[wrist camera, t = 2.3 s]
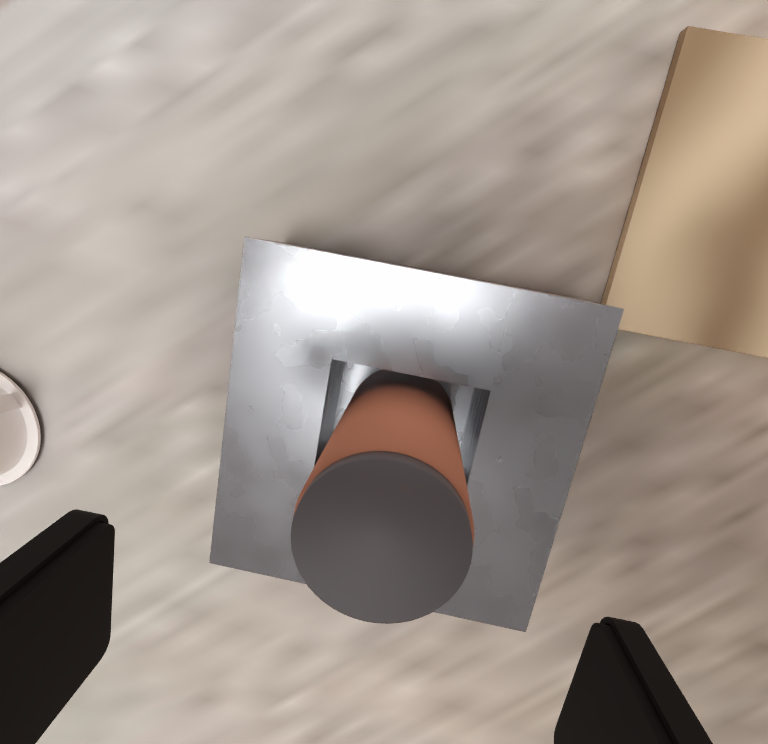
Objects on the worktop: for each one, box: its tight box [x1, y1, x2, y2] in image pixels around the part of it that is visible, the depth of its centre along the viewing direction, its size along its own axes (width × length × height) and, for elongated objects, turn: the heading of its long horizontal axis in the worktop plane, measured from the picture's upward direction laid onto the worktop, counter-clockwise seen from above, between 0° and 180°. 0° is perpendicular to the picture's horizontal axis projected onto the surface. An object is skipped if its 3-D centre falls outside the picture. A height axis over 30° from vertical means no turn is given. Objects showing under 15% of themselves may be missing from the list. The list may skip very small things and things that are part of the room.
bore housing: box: [209, 237, 624, 632], centre depth 21 cm, size 14×14×5 cm
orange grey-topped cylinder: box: [291, 369, 474, 624], centre depth 18 cm, size 5×5×11 cm
